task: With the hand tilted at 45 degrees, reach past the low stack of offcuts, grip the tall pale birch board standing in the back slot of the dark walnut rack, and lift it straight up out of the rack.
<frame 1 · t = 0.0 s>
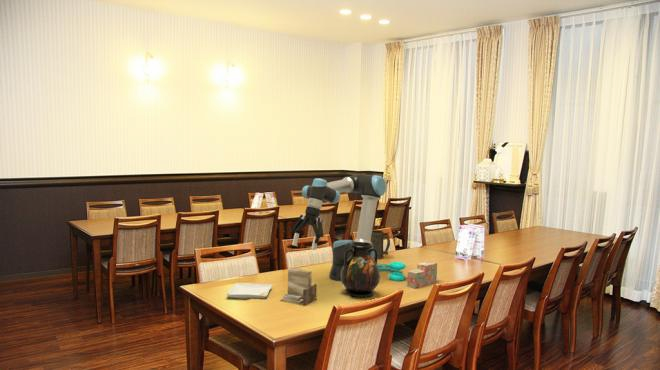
hand: (303, 247, 255), 28 cm above the table, tool tilted 20°, fingers open, 13 cm apart
amphora vase: (359, 294, 270), on the table
walnut rack: (299, 300, 257), on the table
stack of blocks: (421, 285, 294), on the table
offcut stack: (293, 301, 251), point 1 cm above the table, touching walnut rack
birch board: (299, 298, 257), point 1 cm above the table, touching walnut rack
beer stein: (378, 258, 358), on the table
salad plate: (250, 295, 264), on the table
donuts: (396, 279, 304), on the table
alien figure: (384, 271, 325), on the table
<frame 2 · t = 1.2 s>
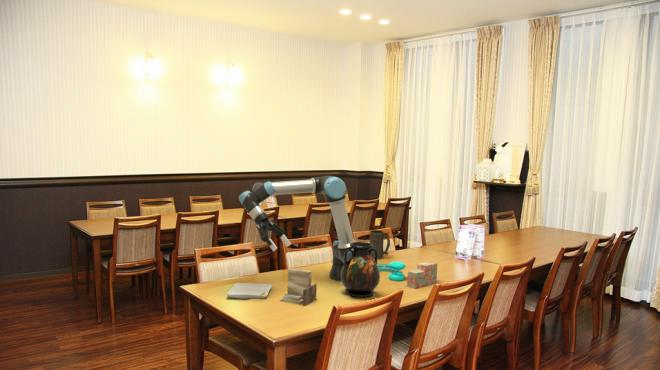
hand: (282, 247, 259), 27 cm above the table, tool tilted 45°, fingers open, 13 cm apart
nothing on the table moved.
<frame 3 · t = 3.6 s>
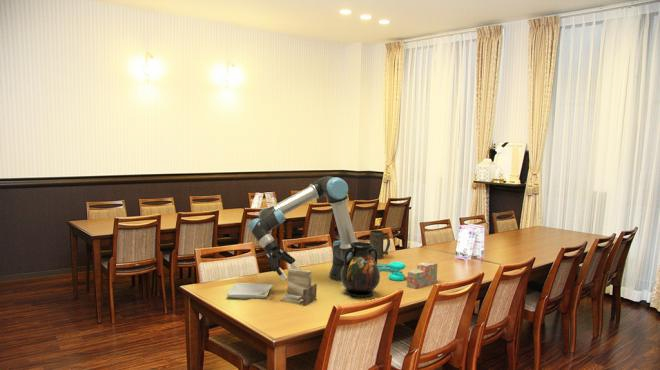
hand: (292, 276, 257), 12 cm above the table, tool tilted 45°, fingers open, 13 cm apart
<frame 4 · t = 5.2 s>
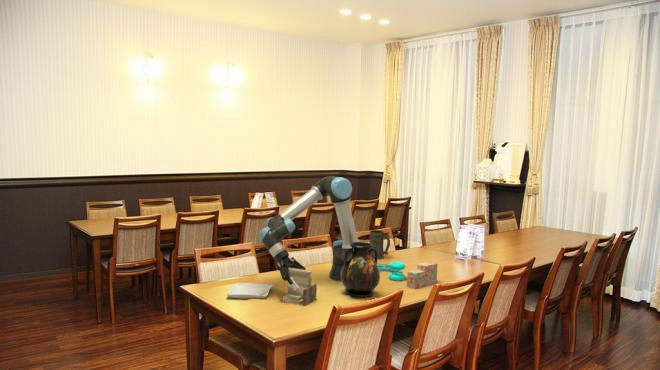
hand: (303, 285, 255), 8 cm above the table, tool tilted 45°, fingers open, 13 cm apart
nothing on the table moved.
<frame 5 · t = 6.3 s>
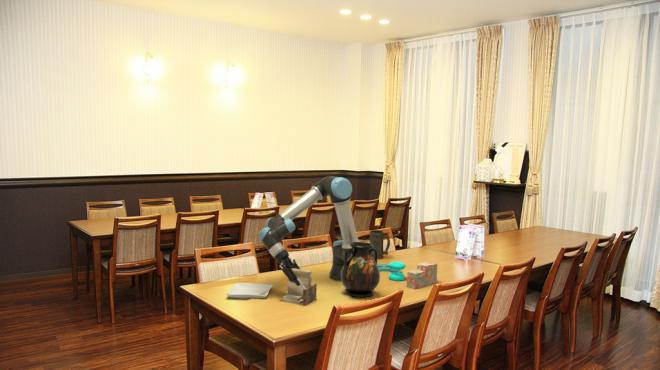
hand: (305, 289, 254), 7 cm above the table, tool tilted 45°, fingers closed on birch board, 3 cm apart
birch board: (299, 298, 257), point 1 cm above the table, touching gripper, walnut rack
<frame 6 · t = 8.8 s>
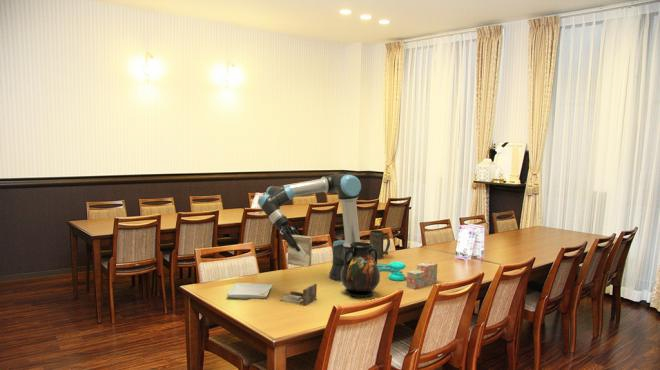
hand: (306, 254, 253), 24 cm above the table, tool tilted 45°, fingers closed on birch board, 3 cm apart
birch board: (299, 264, 255), point 19 cm above the table, touching gripper
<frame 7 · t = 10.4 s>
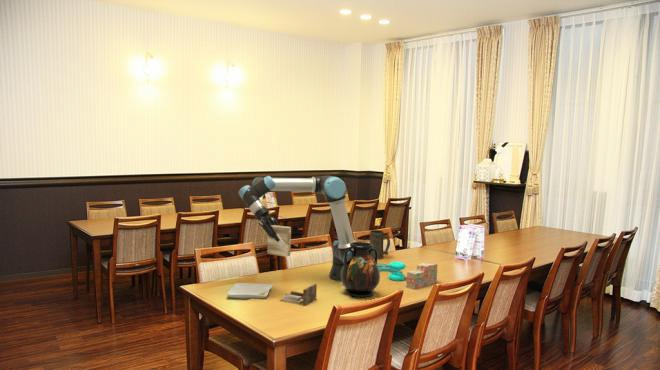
hand: (285, 244, 258), 28 cm above the table, tool tilted 45°, fingers closed on birch board, 3 cm apart
birch board: (278, 254, 260), point 22 cm above the table, touching gripper
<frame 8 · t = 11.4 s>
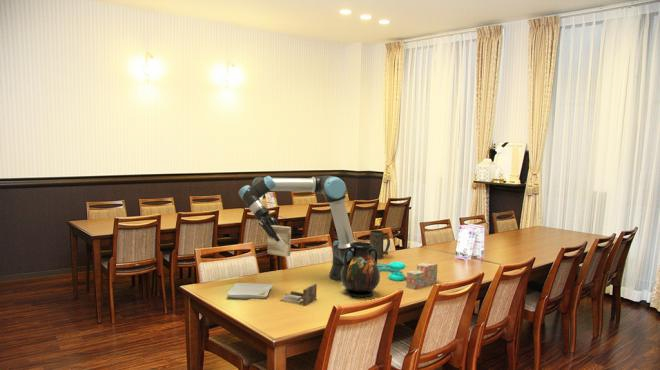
hand: (285, 244, 258), 28 cm above the table, tool tilted 45°, fingers closed on birch board, 3 cm apart
birch board: (278, 254, 260), point 22 cm above the table, touching gripper
at the end: birch board point 22.5 cm above the table; the gripper is holding birch board; offcut stack moved 0.0 cm from its start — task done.
